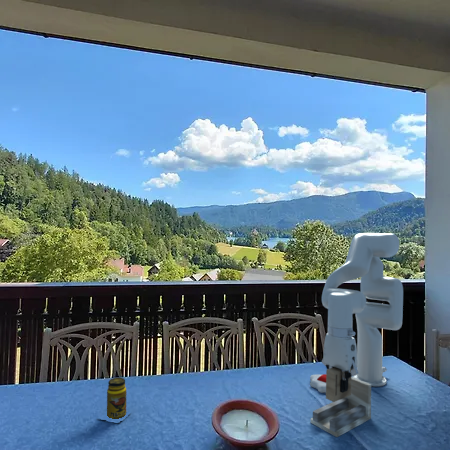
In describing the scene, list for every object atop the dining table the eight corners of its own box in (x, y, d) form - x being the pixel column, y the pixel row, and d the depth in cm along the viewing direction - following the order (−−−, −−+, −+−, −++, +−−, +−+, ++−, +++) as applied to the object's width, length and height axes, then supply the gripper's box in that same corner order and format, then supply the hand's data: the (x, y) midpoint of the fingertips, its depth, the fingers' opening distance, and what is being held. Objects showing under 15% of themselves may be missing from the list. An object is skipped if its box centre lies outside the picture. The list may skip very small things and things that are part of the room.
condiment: (119, 424, 114) (119, 386, 114) (96, 419, 117) (96, 382, 117) (131, 413, 121) (132, 377, 121) (110, 409, 124) (110, 373, 124)
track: (344, 406, 127) (344, 374, 127) (370, 418, 119) (371, 384, 119) (310, 422, 117) (310, 387, 117) (336, 437, 109) (337, 399, 109)
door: (342, 391, 121) (343, 364, 121) (351, 395, 118) (351, 367, 119) (325, 398, 115) (326, 369, 116) (333, 402, 113) (334, 372, 113)
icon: (305, 370, 149) (329, 369, 150) (305, 380, 149) (329, 380, 150) (315, 383, 137) (341, 382, 138) (315, 394, 137) (341, 393, 138)
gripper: (369, 335, 113) (369, 395, 113) (326, 324, 126) (325, 378, 126) (355, 339, 109) (354, 402, 108) (312, 327, 122) (311, 383, 121)
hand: (339, 388), depth 117 cm, fingers closed on door, 3 cm apart
